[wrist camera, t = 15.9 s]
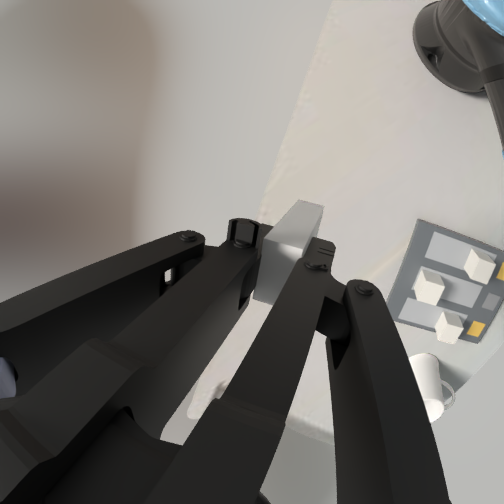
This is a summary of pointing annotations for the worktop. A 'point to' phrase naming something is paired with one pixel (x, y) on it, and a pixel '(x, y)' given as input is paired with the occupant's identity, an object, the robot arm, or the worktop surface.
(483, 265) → the white cube
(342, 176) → the worktop surface
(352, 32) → the worktop surface
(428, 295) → the cream cube block
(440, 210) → the worktop surface
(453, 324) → the off-white cube
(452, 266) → the switch bank
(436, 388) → the mug
